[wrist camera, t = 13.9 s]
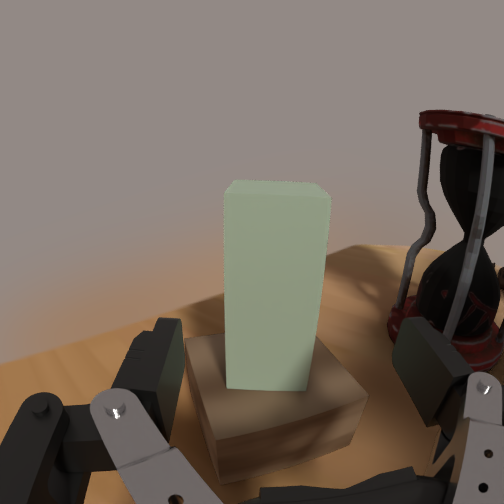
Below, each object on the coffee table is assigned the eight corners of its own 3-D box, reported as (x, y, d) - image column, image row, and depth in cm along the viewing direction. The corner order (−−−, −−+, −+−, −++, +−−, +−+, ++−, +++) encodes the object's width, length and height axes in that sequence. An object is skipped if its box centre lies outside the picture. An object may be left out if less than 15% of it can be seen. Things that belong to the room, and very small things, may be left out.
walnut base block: (190, 392, 26) (184, 338, 24) (294, 371, 29) (301, 319, 27) (220, 486, 17) (215, 440, 15) (348, 446, 20) (369, 395, 18)
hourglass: (405, 294, 43) (431, 122, 35) (500, 325, 34) (540, 147, 25) (366, 347, 32) (403, 100, 23) (496, 394, 22) (571, 137, 13)
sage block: (234, 342, 23) (234, 179, 19) (300, 345, 23) (316, 183, 19) (226, 388, 19) (224, 193, 15) (306, 391, 19) (331, 197, 14)
